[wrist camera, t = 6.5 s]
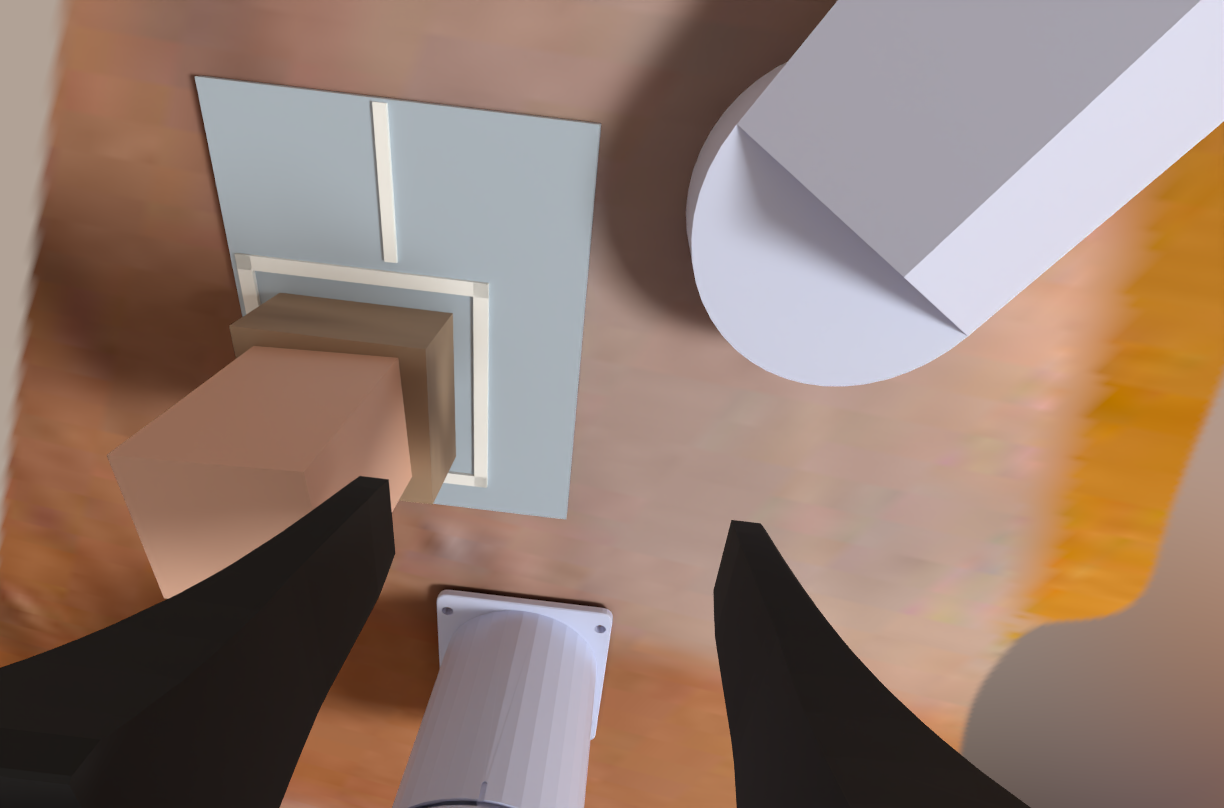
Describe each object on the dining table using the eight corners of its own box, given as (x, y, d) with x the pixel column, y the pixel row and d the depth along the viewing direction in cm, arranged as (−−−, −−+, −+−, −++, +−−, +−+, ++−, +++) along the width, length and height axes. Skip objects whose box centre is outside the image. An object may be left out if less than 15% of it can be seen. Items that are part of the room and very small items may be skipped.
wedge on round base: (968, -195, 15) (628, 231, 21) (1167, -348, 9) (618, 304, 15) (1176, 68, 17) (822, 388, 23) (1440, 78, 12) (880, 504, 17)
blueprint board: (567, 513, 26) (565, 521, 26) (280, 478, 26) (274, 487, 26) (601, 123, 19) (599, 125, 18) (202, 75, 19) (191, 76, 18)
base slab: (456, 456, 25) (432, 504, 22) (303, 438, 25) (262, 484, 22) (453, 313, 22) (425, 349, 19) (279, 292, 22) (228, 325, 19)
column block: (412, 476, 22) (335, 613, 16) (282, 465, 22) (164, 597, 16) (398, 357, 19) (304, 471, 14) (253, 345, 19) (106, 455, 14)
